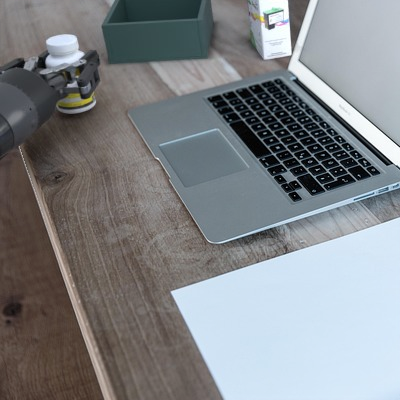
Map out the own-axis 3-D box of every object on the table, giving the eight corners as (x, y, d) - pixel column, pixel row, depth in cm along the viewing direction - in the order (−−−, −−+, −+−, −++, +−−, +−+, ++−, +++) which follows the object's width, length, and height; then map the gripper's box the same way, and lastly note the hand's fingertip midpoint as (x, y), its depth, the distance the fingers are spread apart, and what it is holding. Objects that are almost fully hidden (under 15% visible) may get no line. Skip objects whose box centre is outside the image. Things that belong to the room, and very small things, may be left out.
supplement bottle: (102, 107, 99) (87, 41, 94) (64, 118, 97) (46, 51, 91) (89, 93, 103) (74, 29, 97) (52, 104, 100) (34, 38, 95)
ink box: (249, 42, 119) (242, -29, 113) (278, 37, 121) (272, -33, 114) (263, 61, 113) (256, -13, 106) (293, 56, 114) (288, -18, 107)
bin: (109, 65, 114) (101, 25, 110) (126, 28, 126) (118, -8, 123) (207, 59, 114) (202, 19, 110) (213, 23, 127) (209, -13, 123)
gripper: (54, 86, 81) (118, 31, 95) (-56, 79, 84) (21, 26, 97) (69, 143, 85) (128, 83, 99) (-36, 134, 88) (35, 76, 102)
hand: (75, 55), depth 98 cm, fingers closed on supplement bottle, 5 cm apart
